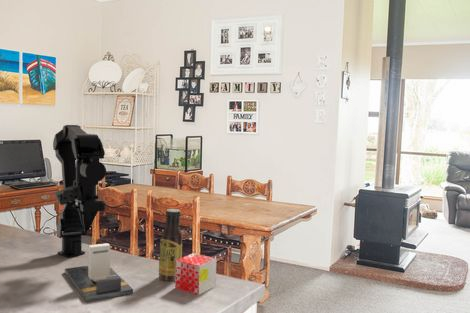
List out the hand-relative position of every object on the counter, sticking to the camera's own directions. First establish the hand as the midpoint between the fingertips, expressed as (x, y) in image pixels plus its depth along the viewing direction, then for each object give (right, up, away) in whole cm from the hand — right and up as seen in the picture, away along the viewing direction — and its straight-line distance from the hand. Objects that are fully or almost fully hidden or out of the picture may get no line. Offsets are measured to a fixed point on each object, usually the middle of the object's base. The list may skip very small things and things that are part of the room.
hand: (85, 230), depth 139 cm
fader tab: (+7, -12, -11) cm, 17 cm away
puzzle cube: (+33, -14, -10) cm, 37 cm away
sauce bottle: (+25, -13, -4) cm, 29 cm away
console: (+6, -13, -9) cm, 17 cm away
